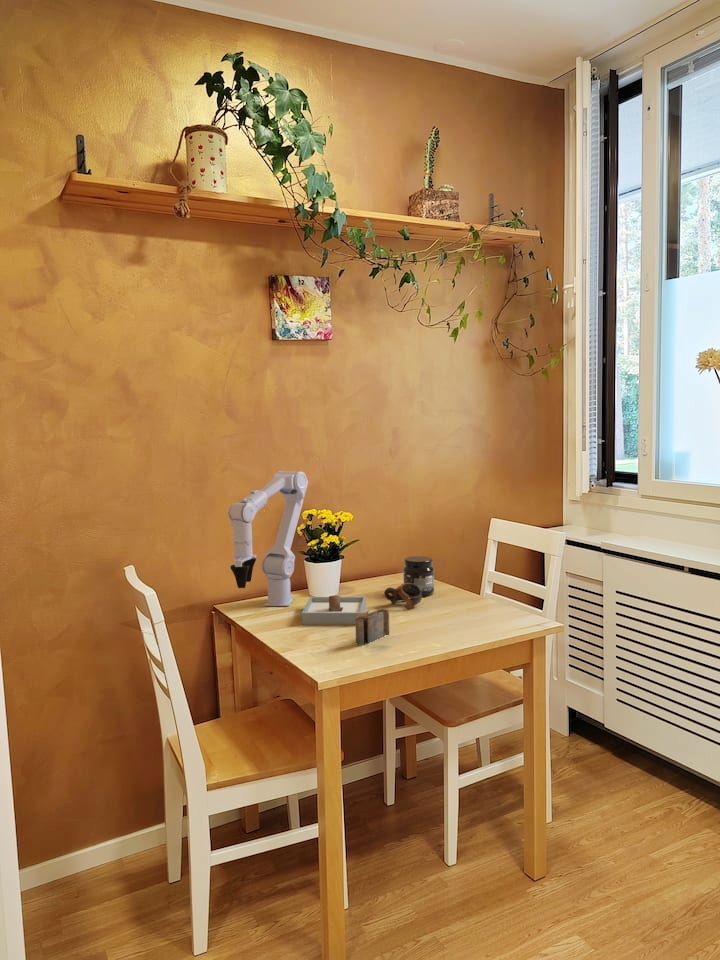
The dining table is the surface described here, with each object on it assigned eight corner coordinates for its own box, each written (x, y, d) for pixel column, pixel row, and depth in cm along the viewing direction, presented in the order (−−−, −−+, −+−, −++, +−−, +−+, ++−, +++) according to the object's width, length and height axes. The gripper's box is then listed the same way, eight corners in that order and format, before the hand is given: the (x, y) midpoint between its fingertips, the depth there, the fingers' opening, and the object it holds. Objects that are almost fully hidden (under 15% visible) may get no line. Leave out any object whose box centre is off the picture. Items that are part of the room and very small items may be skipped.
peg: (329, 614, 228) (329, 595, 227) (340, 614, 228) (340, 595, 227) (329, 617, 225) (328, 598, 224) (340, 617, 224) (339, 598, 224)
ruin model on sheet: (364, 647, 198) (363, 612, 197) (356, 645, 200) (355, 610, 199) (390, 636, 206) (390, 603, 205) (382, 634, 208) (381, 601, 207)
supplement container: (406, 588, 257) (405, 555, 255) (436, 590, 254) (436, 556, 253) (400, 596, 246) (400, 561, 245) (432, 598, 244) (431, 562, 243)
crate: (310, 607, 236) (309, 596, 235) (366, 607, 235) (365, 596, 234) (302, 624, 218) (301, 613, 218) (362, 624, 217) (362, 613, 216)
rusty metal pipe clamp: (414, 601, 242) (422, 582, 238) (417, 621, 235) (425, 602, 230) (380, 594, 240) (387, 575, 236) (381, 614, 232) (389, 595, 228)
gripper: (250, 546, 218) (252, 590, 220) (260, 536, 233) (262, 578, 234) (227, 546, 219) (229, 590, 220) (238, 537, 233) (240, 578, 235)
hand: (244, 584), depth 227 cm, fingers open, 7 cm apart
